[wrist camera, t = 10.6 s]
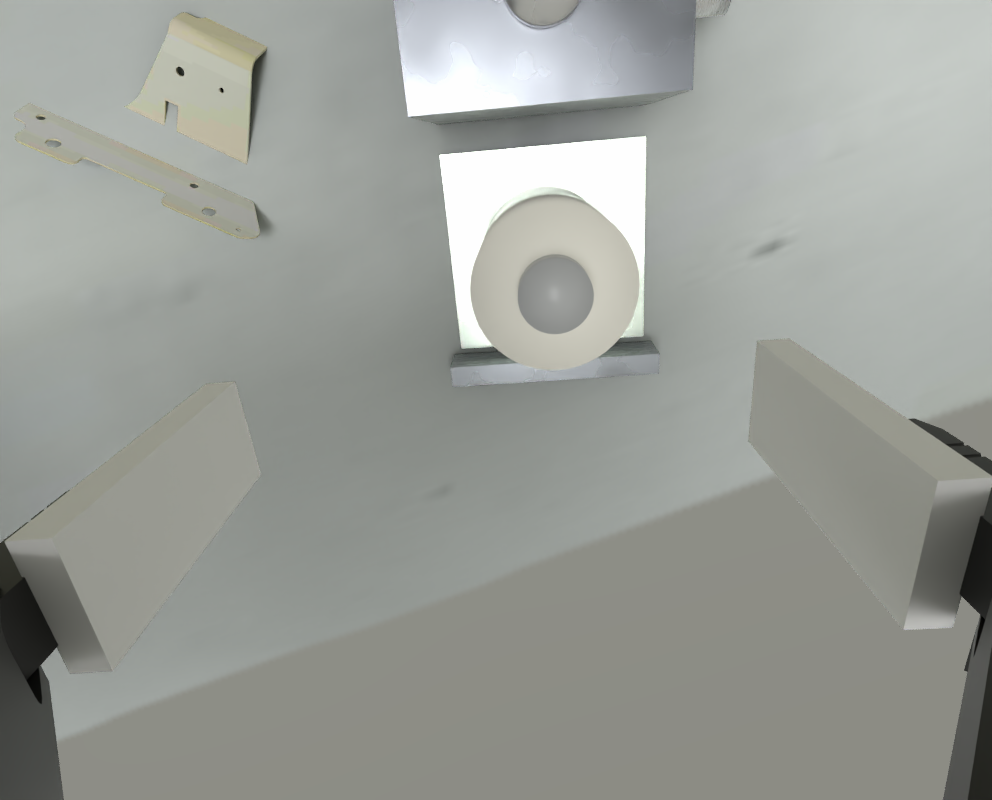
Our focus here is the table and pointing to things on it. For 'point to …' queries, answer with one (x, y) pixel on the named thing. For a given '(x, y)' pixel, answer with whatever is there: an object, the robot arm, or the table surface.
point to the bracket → (201, 116)
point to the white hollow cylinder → (553, 280)
